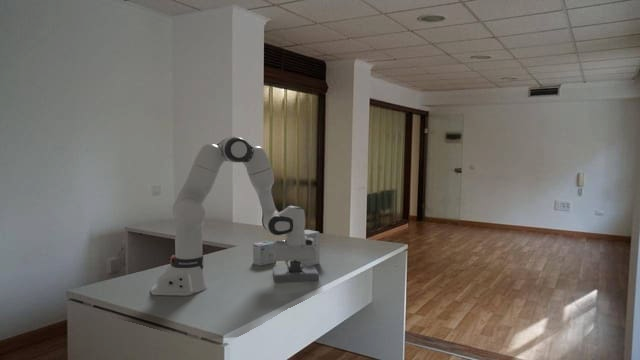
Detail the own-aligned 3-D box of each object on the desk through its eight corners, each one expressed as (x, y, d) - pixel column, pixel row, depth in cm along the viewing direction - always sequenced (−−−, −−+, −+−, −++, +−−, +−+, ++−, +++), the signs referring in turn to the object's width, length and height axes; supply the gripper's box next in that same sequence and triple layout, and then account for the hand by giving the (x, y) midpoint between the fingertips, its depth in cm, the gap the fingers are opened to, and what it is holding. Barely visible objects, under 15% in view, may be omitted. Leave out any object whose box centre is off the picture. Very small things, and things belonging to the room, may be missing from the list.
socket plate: (275, 282, 200) (275, 275, 200) (272, 273, 214) (272, 267, 214) (318, 280, 204) (318, 274, 203) (313, 271, 217) (313, 265, 217)
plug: (291, 275, 206) (291, 258, 205) (289, 272, 210) (290, 256, 210) (300, 274, 207) (300, 258, 206) (299, 272, 211) (299, 255, 211)
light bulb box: (268, 259, 238) (268, 240, 237) (276, 262, 233) (276, 242, 232) (252, 263, 231) (252, 243, 230) (260, 266, 226) (260, 245, 225)
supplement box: (320, 263, 232) (320, 231, 230) (307, 267, 225) (307, 234, 224) (307, 260, 239) (307, 229, 237) (294, 263, 232) (294, 231, 231)
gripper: (273, 242, 202) (273, 272, 204) (317, 241, 206) (317, 270, 207) (272, 239, 209) (272, 268, 210) (315, 238, 212) (315, 266, 213)
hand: (295, 269), depth 208 cm, fingers closed on plug, 4 cm apart
